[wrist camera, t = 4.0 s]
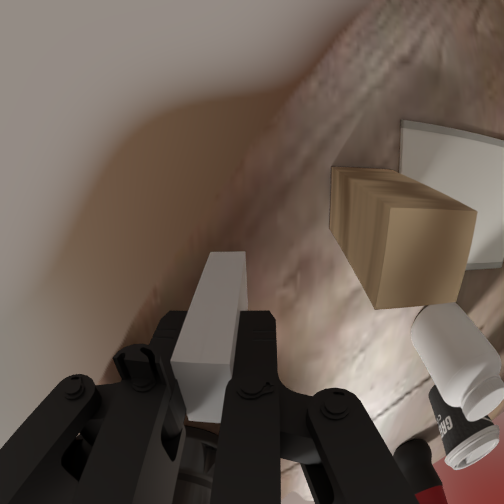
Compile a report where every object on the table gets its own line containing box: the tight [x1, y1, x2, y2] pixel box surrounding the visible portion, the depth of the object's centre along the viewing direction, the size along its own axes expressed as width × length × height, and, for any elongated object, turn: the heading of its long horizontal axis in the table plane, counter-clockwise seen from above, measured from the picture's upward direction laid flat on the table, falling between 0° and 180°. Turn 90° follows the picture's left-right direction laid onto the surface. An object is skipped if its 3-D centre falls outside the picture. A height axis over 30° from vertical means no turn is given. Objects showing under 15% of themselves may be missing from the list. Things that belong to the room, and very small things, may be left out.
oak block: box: [329, 166, 478, 310], centre depth 21 cm, size 6×6×14 cm
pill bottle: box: [411, 302, 504, 421], centre depth 27 cm, size 8×8×15 cm
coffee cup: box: [429, 385, 499, 470], centre depth 32 cm, size 10×10×15 cm
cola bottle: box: [393, 439, 448, 504], centre depth 33 cm, size 8×8×30 cm
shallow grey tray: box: [399, 120, 504, 270], centre depth 27 cm, size 18×16×1 cm
